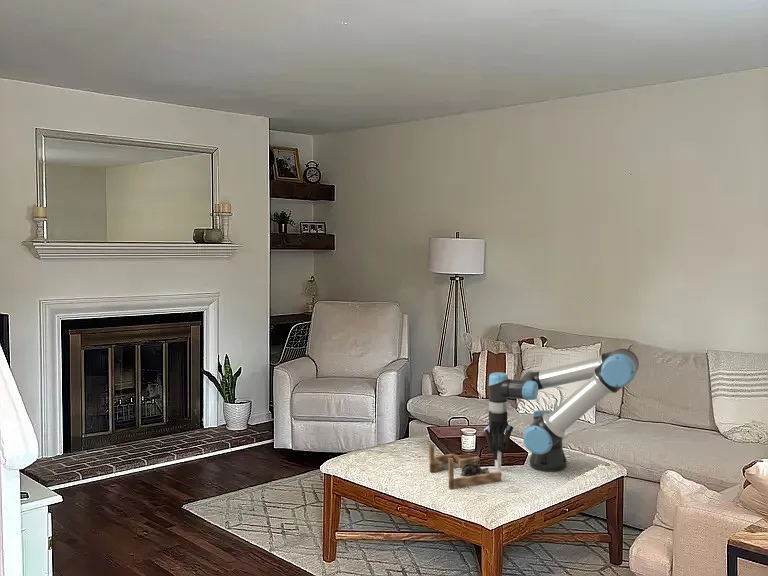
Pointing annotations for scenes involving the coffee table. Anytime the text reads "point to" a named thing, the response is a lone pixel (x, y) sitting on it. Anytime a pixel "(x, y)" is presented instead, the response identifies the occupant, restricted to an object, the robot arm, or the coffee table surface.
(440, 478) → the coffee table surface
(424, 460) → the coffee table surface
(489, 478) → the wooden rail pieces
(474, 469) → the stuffed animal
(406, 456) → the coffee table surface
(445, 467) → the mat
